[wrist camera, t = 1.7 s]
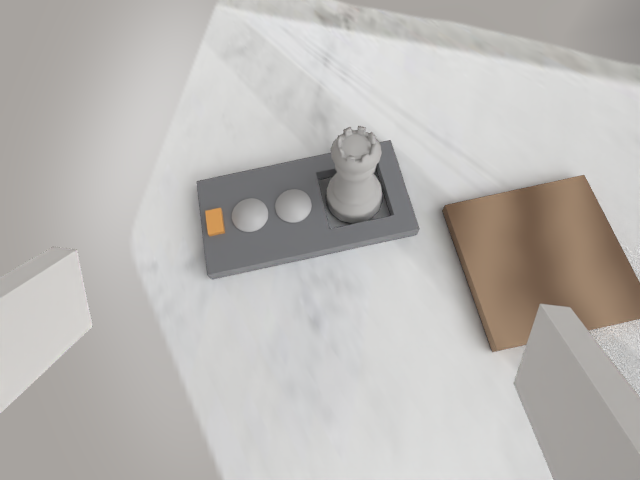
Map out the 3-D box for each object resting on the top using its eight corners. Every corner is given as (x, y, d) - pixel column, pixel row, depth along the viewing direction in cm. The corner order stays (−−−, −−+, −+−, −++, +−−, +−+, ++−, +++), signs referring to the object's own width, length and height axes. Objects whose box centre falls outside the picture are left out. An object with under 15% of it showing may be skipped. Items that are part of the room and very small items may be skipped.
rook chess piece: (319, 184, 34) (312, 123, 26) (371, 169, 34) (378, 105, 26) (335, 232, 32) (332, 182, 25) (389, 216, 32) (403, 162, 25)
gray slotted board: (388, 148, 34) (391, 137, 33) (416, 234, 32) (420, 226, 30) (201, 188, 34) (194, 178, 33) (212, 279, 31) (205, 273, 30)
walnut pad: (577, 181, 32) (584, 174, 32) (645, 317, 28) (656, 314, 28) (442, 210, 32) (445, 205, 31) (492, 352, 28) (497, 350, 27)
